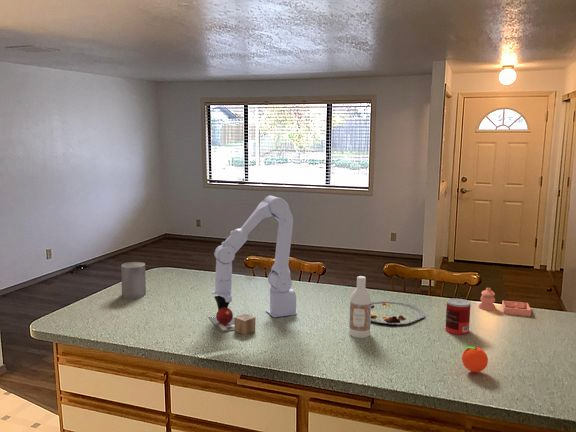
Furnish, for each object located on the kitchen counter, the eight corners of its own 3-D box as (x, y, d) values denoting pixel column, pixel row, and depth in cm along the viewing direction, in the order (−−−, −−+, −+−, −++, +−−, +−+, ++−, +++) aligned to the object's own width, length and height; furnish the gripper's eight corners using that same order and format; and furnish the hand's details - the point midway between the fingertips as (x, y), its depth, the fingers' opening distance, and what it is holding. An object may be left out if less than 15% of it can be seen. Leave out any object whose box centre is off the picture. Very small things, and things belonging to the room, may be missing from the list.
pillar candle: (128, 292, 216) (127, 258, 214) (149, 293, 214) (149, 259, 212) (117, 299, 206) (116, 263, 204) (140, 300, 205) (139, 264, 203)
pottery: (527, 313, 194) (528, 288, 193) (530, 321, 185) (532, 295, 184) (477, 308, 200) (478, 284, 198) (478, 315, 191) (479, 290, 189)
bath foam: (347, 337, 167) (349, 278, 164) (351, 330, 173) (352, 273, 171) (368, 339, 165) (370, 280, 162) (371, 332, 171) (373, 275, 169)
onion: (232, 315, 182) (239, 309, 175) (224, 329, 178) (231, 324, 172) (218, 307, 181) (224, 301, 174) (210, 321, 178) (217, 315, 171)
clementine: (456, 373, 141) (458, 349, 140) (457, 363, 147) (459, 340, 146) (487, 378, 138) (489, 353, 137) (487, 368, 144) (488, 344, 143)
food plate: (394, 334, 171) (394, 324, 171) (343, 316, 189) (343, 307, 188) (435, 318, 188) (435, 309, 187) (385, 303, 205) (385, 295, 205)
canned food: (468, 330, 175) (470, 299, 173) (468, 338, 167) (470, 306, 166) (445, 327, 177) (447, 297, 176) (444, 335, 170) (446, 303, 168)
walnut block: (245, 313, 174) (255, 317, 170) (244, 327, 174) (255, 331, 171) (234, 317, 170) (245, 321, 167) (234, 331, 171) (244, 335, 167)
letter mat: (235, 312, 191) (235, 312, 191) (251, 327, 175) (251, 327, 174) (206, 316, 186) (206, 315, 186) (220, 332, 170) (220, 331, 170)
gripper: (207, 274, 184) (206, 310, 186) (218, 285, 171) (217, 323, 172) (226, 273, 187) (225, 309, 188) (238, 283, 173) (236, 321, 175)
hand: (222, 315), depth 181 cm, fingers closed, pressing on onion
